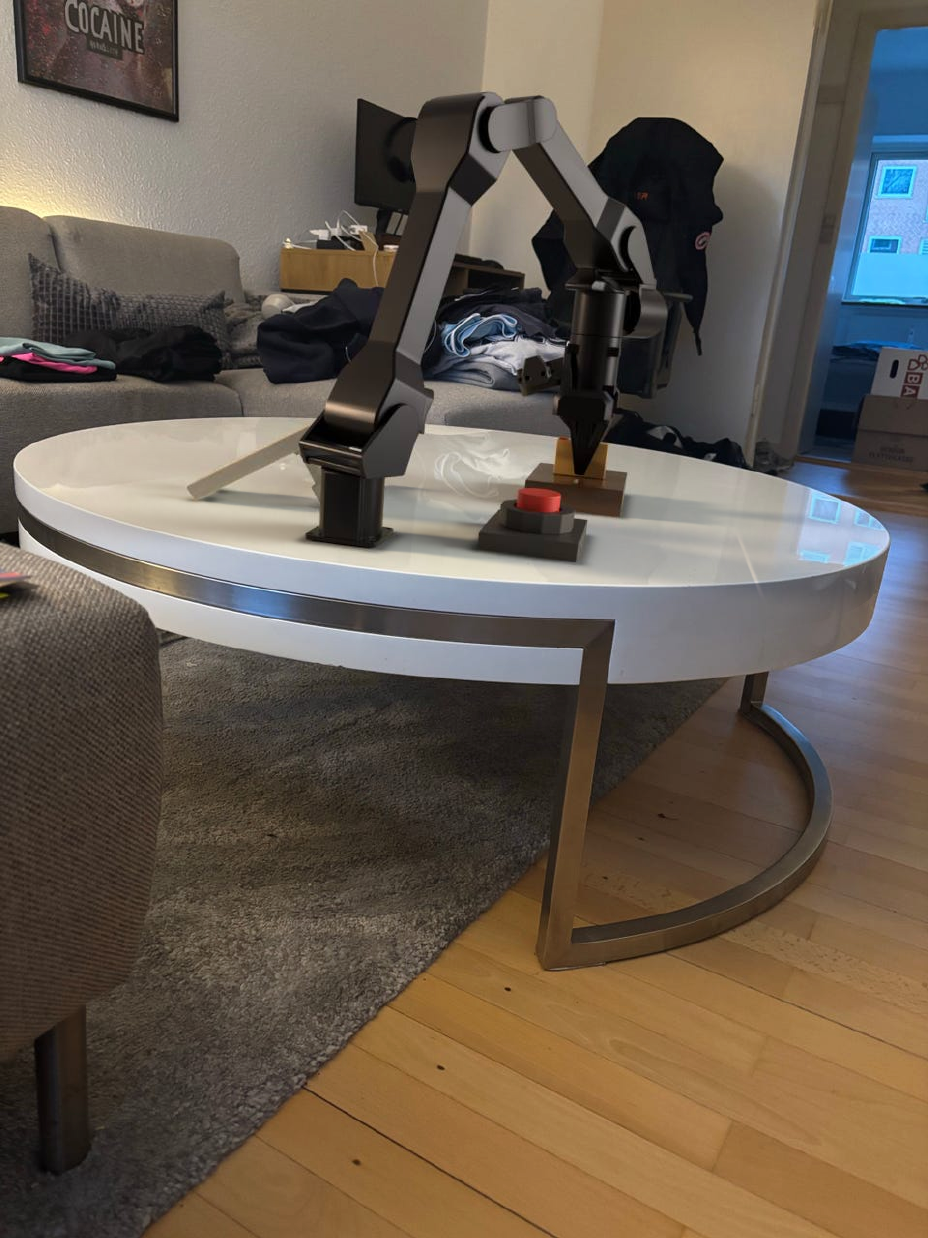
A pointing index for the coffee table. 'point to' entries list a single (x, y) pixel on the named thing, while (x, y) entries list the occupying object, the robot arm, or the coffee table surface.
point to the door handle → (255, 465)
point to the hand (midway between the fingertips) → (579, 473)
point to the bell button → (538, 500)
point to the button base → (534, 532)
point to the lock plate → (582, 490)
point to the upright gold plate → (566, 460)
